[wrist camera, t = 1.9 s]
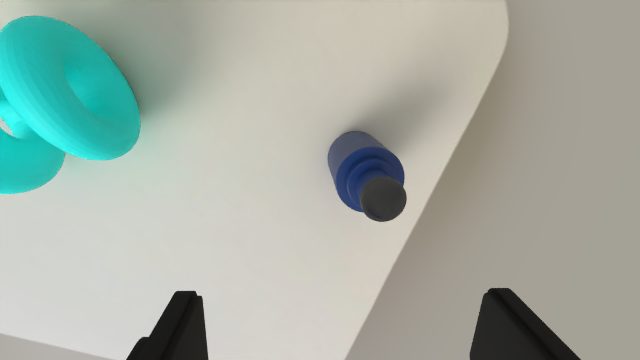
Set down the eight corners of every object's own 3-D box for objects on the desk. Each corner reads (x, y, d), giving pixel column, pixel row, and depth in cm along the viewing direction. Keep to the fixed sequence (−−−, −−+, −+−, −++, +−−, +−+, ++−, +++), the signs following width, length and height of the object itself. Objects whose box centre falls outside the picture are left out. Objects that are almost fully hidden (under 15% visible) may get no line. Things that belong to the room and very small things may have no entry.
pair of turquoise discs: (-8, 67, 26) (-186, 61, 16) (102, 22, 25) (-16, -11, 16) (64, 175, 29) (-50, 223, 19) (164, 138, 28) (96, 168, 19)
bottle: (370, 122, 29) (410, 147, 19) (388, 171, 31) (434, 219, 20) (319, 144, 29) (330, 180, 19) (339, 191, 31) (359, 249, 21)
